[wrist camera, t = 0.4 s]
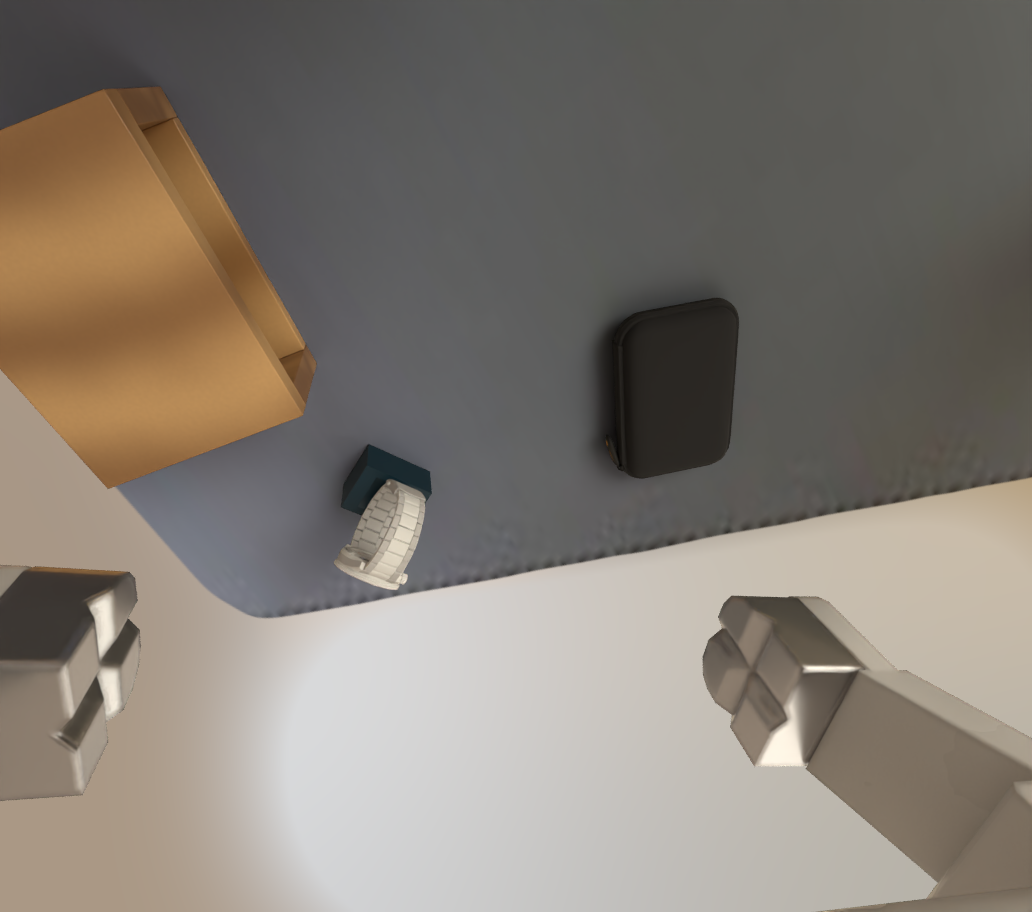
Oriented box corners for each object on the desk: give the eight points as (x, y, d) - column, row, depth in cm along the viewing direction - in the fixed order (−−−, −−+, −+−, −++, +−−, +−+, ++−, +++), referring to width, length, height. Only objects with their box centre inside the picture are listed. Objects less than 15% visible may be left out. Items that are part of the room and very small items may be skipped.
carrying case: (593, 313, 45) (603, 474, 53) (605, 327, 43) (613, 494, 51) (730, 287, 46) (719, 450, 54) (749, 300, 44) (735, 468, 52)
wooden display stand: (-52, 170, 34) (-159, 193, 28) (160, 85, 34) (103, 88, 27) (151, 426, 44) (107, 489, 38) (317, 363, 44) (303, 415, 37)
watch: (332, 501, 50) (318, 597, 41) (379, 427, 47) (375, 512, 38) (393, 526, 53) (393, 621, 43) (441, 456, 50) (452, 543, 40)
